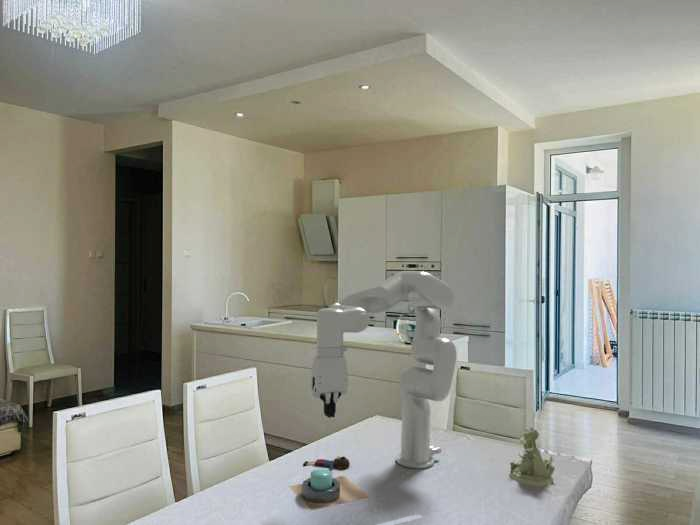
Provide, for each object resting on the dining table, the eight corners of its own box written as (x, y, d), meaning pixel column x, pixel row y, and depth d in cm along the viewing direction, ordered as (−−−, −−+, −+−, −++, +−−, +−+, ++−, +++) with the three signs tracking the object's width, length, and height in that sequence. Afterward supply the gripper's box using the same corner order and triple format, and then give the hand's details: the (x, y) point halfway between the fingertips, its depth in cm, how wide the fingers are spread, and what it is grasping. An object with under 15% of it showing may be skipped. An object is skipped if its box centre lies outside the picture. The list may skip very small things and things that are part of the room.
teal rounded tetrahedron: (325, 488, 153) (326, 467, 153) (335, 496, 147) (335, 475, 147) (306, 492, 150) (307, 471, 150) (315, 501, 144) (316, 479, 144)
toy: (298, 478, 165) (345, 479, 162) (297, 463, 165) (344, 464, 162) (310, 461, 179) (353, 463, 176) (309, 447, 179) (353, 448, 176)
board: (343, 478, 162) (343, 475, 162) (370, 500, 148) (370, 496, 148) (288, 489, 154) (289, 486, 154) (311, 513, 140) (311, 509, 140)
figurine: (562, 478, 166) (563, 430, 166) (545, 491, 157) (546, 440, 157) (519, 465, 176) (520, 420, 176) (500, 477, 166) (501, 429, 166)
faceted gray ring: (329, 484, 156) (329, 474, 156) (346, 498, 146) (346, 487, 146) (296, 491, 151) (296, 480, 151) (311, 506, 141) (311, 495, 141)
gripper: (346, 347, 157) (346, 409, 158) (300, 352, 150) (300, 416, 151) (359, 351, 151) (359, 416, 151) (311, 356, 144) (311, 423, 144)
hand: (329, 416), depth 151 cm, fingers closed
